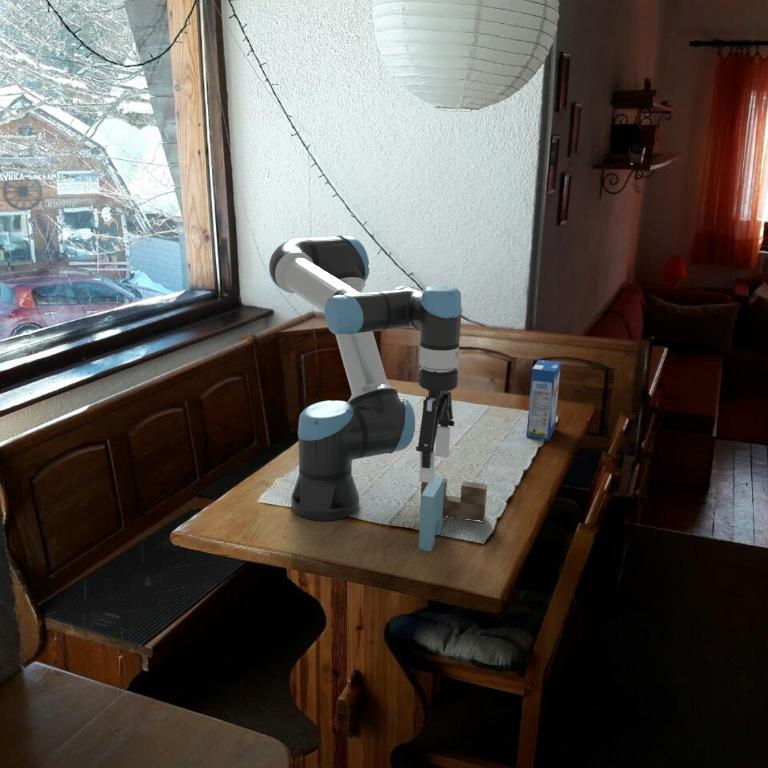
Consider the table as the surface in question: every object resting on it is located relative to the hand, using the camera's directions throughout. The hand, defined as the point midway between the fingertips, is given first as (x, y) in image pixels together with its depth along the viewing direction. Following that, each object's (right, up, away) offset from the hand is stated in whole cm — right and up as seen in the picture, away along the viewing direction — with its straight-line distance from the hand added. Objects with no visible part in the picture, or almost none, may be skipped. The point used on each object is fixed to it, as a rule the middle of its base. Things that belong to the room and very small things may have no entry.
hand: (434, 468), depth 161 cm
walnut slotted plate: (+5, -12, +16) cm, 20 cm away
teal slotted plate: (-1, -15, +5) cm, 16 cm away
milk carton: (+34, +3, +65) cm, 74 cm away
